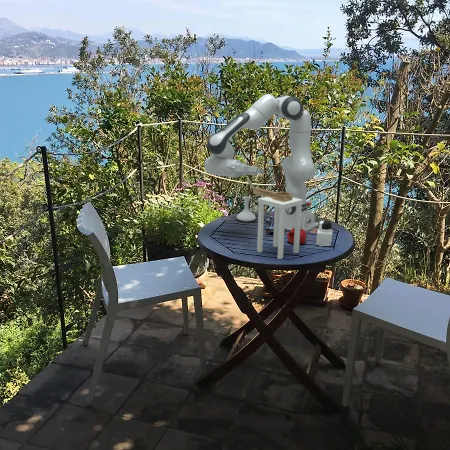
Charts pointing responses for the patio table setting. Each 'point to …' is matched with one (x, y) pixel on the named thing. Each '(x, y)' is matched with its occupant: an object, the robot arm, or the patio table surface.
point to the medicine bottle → (324, 234)
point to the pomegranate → (291, 236)
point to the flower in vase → (246, 207)
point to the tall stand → (279, 223)
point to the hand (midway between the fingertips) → (260, 170)
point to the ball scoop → (274, 194)
